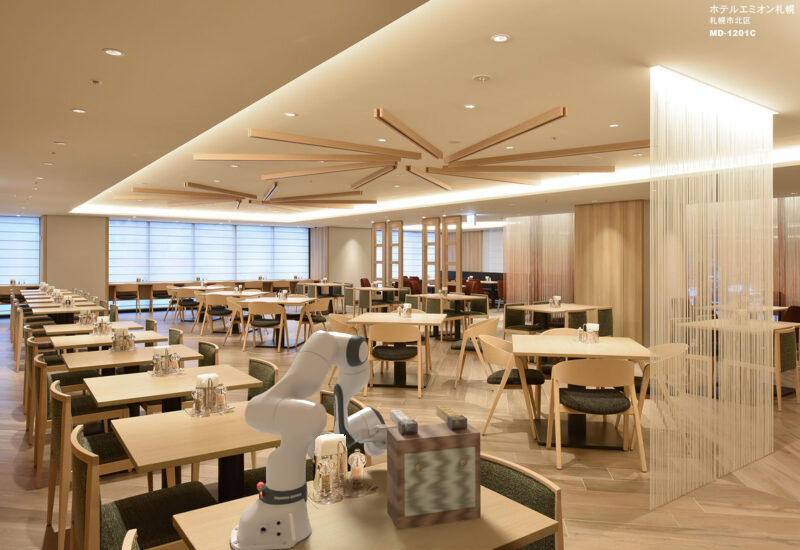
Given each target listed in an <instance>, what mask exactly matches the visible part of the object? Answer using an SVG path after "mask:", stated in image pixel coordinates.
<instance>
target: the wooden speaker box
mask: <svg viewBox="0 0 800 550" xmlns="http://www.w3.org/2000/svg"><path fill="white" fill-rule="evenodd" d="M386 470H387V471H386V476H387V477H386V480H387V481H386V486H387V487H386V488H387V489H386V492H387V493H386V496H387V497H386V498H387V501H386V503H387V509H386V510H387V514H388V516H389V517H390V519H391V521H392V522H393V525H394V526H395V528H396V530H397V531H403V530H408V529H409V530H411V529H417V528H422V527H429V526H436V525H443V524H450V523H457V522H464V521H469V520H471V521H472V520H477V519H481V518H482V515H481V514H482V513H481V511H482V510H481V508H482V507H481V506H482V504H481V503H482V502H481V498H482V496H481V493H482V491H481V484H482V483H481V479H482V478H481V432H480V431H479V430H477V429H476V428H475V427H473V426H472V425H471V424H469V423H468V422H467V428H466V429H456V430H452V429H450V428H449V427H448V426H447V423H446V422H445V423H434V424H425V425H424V424H423V425H418V433H414V434H404V435H402V434H401V433H400V432H399V431H398V428H389V429H387V451H386Z"/></svg>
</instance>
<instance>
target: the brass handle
mask: <svg viewBox="0 0 800 550" xmlns="http://www.w3.org/2000/svg"><path fill="white" fill-rule="evenodd" d="M435 407H436V409H435V414H436V416H437V417H438V418H440V419H441V420H442V421H444V422H445V423H447V426H448V427H449V428H450V429H452V430H456V429H466V428H467V423H468V418H467V417H465V416H464V415H462V414H461V415H459V414H458V413H457V412H455V411H453V410H452V409H450V408H449V407H448V406H447V405H445V404H444V405H436V406H435Z"/></svg>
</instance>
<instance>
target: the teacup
mask: <svg viewBox="0 0 800 550" xmlns="http://www.w3.org/2000/svg"><path fill="white" fill-rule="evenodd" d="M332 433H333V432H331V431H327V430H324V431H323V432H322V433H321V434H320V435H324V434H332ZM320 435H319V436H320ZM314 451H315V439H314V440H313V442H312V443H311V445H310V446H309V449H308V452H307V455H308V457H309V458H310V459H311V462H312V463H314V464H316V463H315V460H314Z"/></svg>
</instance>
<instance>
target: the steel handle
mask: <svg viewBox="0 0 800 550" xmlns="http://www.w3.org/2000/svg"><path fill="white" fill-rule="evenodd" d="M389 411H390V413H389V414H390V415H389V416H390V418H389V419H390V420H391V421H392V422H393V423H394V425H395V426H398V431H399V432H400V433H401V434H402V435H404V434H414V433H418V426H419V423H418V422H417V421H416V420H415V419H410V417H409V416H407V415H406V414H405V413H404V412H403V411H402V410H401V409H399V408H397V409H390V410H389Z"/></svg>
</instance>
